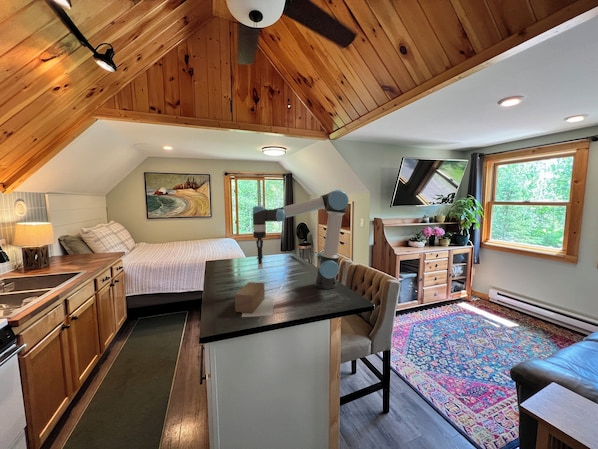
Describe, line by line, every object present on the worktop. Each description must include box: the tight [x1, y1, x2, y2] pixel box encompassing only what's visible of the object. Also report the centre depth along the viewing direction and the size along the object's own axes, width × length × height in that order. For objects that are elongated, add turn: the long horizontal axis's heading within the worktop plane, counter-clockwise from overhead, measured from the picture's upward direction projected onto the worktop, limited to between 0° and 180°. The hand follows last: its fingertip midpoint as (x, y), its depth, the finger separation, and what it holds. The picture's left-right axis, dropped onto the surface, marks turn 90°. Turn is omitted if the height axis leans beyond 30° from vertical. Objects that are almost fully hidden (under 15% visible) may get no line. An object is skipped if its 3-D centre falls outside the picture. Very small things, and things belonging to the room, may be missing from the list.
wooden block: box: [234, 281, 266, 313], centre depth 138 cm, size 10×10×20 cm
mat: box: [241, 298, 274, 318], centre depth 136 cm, size 16×21×1 cm
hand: (260, 268), depth 157 cm, fingers closed
